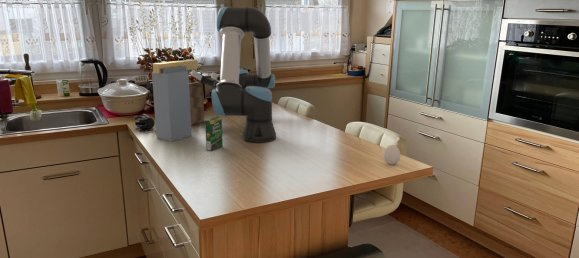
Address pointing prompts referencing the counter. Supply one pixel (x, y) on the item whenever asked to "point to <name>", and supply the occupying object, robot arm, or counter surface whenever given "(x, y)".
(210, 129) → the coffee box
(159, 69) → the cream long bar
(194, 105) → the tall brown block
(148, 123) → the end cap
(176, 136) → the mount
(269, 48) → the robot arm
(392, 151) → the egg
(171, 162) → the counter surface
